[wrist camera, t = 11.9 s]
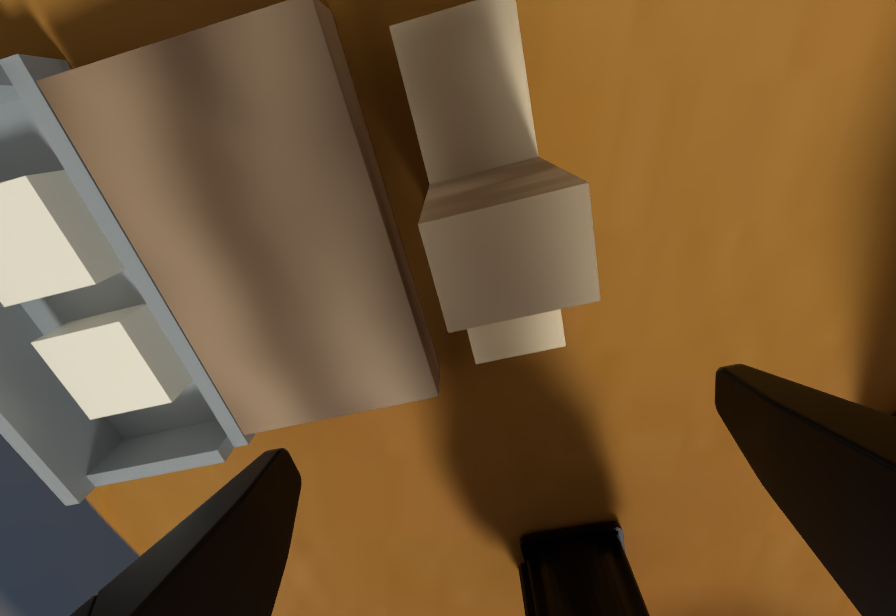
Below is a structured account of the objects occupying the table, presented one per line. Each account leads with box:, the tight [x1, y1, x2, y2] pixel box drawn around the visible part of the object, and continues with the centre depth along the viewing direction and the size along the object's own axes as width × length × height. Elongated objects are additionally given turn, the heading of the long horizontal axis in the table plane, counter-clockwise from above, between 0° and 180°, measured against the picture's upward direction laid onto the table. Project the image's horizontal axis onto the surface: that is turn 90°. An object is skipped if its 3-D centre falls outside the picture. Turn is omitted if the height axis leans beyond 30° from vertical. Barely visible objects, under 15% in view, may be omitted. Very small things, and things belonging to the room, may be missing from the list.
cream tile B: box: [31, 303, 193, 420], centre depth 20 cm, size 4×4×2 cm
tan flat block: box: [36, 0, 440, 435], centre depth 18 cm, size 10×16×2 cm, turn 14°
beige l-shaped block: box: [389, 0, 600, 364], centre depth 14 cm, size 4×13×9 cm, turn 14°
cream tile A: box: [0, 170, 126, 307], centre depth 18 cm, size 4×4×2 cm
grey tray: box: [0, 54, 255, 506], centre depth 18 cm, size 9×18×4 cm, turn 14°
